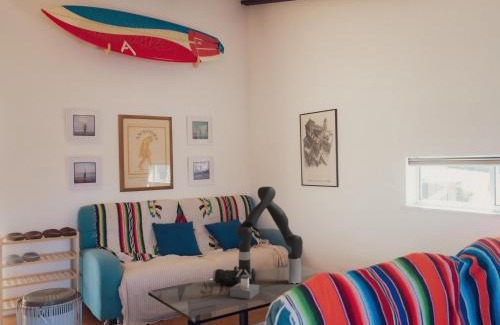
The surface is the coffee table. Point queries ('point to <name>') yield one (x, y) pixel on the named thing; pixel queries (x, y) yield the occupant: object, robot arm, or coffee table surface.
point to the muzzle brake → (226, 277)
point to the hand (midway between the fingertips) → (244, 283)
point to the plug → (244, 281)
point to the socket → (244, 291)
